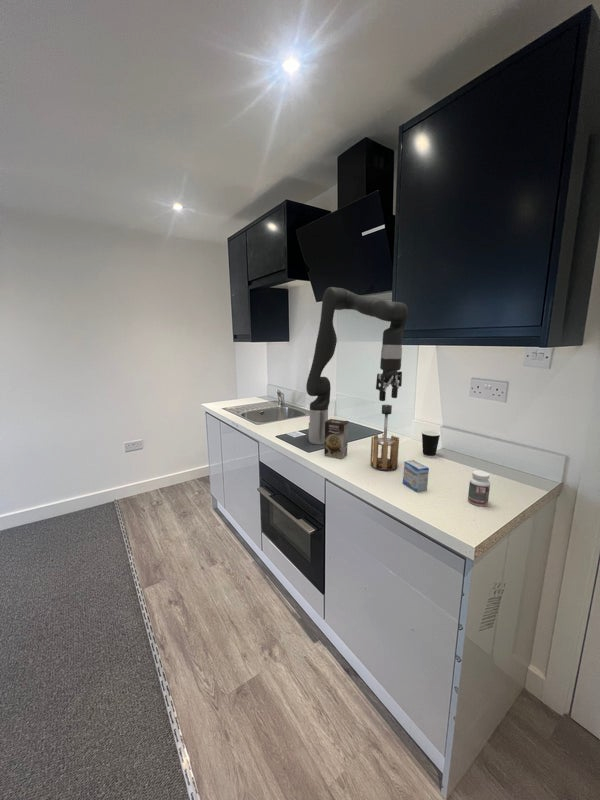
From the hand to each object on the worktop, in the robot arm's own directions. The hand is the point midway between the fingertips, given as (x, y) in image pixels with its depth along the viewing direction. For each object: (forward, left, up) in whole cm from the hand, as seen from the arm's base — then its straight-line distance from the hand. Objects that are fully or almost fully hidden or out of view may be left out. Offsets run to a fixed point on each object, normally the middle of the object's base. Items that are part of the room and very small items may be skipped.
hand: (388, 399), depth 122 cm
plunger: (-2, +2, -18) cm, 19 cm away
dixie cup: (+1, +28, -29) cm, 40 cm away
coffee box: (-22, -7, -29) cm, 37 cm away
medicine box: (+17, -3, -29) cm, 34 cm away
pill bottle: (+35, +5, -29) cm, 45 cm away
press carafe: (-2, +3, -29) cm, 29 cm away
